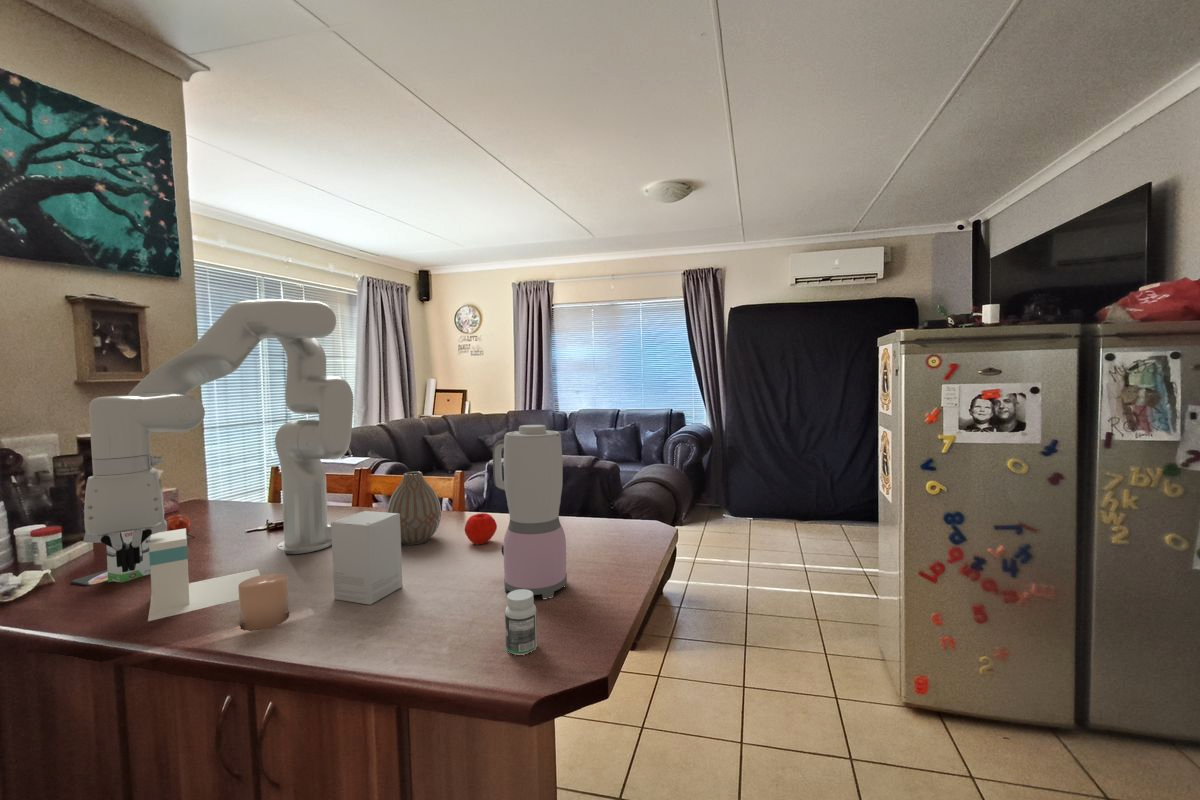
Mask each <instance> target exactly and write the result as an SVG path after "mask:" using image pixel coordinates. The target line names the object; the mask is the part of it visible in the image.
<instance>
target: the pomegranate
mask: <svg viewBox="0 0 1200 800" xmlns="http://www.w3.org/2000/svg"><path fill="white" fill-rule="evenodd" d="M164 520H165V521H167V531H172V530H178V529H185V528H186V535H187V537H190V538H194V539H195V538H196V537H195V536H194V535H191V534H189V533H190V531H191V528H192V522H191V519H190V518H189V517H188V516H187V515H185V514H173V515H170V516H168V517H167V518H164Z"/></svg>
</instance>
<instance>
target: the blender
mask: <svg viewBox="0 0 1200 800" xmlns="http://www.w3.org/2000/svg"><path fill="white" fill-rule="evenodd" d="M503 438H504V439H500V440H498V441H496V442H495V444H494V445H493V448H492V469H493V470H492V471H493V483H494V485H495V487H496V488H497V489H499V490H502V491H504V492H505V497H506V502H507V503H506V505H507V508H508V514H509V524H508V525H507V529H506V532H505V533H504V537H503V545H502V546H501V555H502V556H503V569H504V570H503V571H504V572H503V574H504V578H503V580H504V581H503V582H504V585H503V586H504V592H505V591H507V592H512V591H514V590H519V589H526V590H530V591H532V592H533V596H536V595H541V598H549V597H552V596H553V597H554V594H555V592H556V591H558V590H560V589H562V588H563V587H564V586H565V587H566V588H567V583H568V582H567V581H568V577H567V575H568V574H567V541H566V540H567V539H566V534H565V531H564V529H563V526H562V524H561V522H560V518H559V517H560V516H559V515H560V514H559V513H560V506H561V500H562V499H561V498H562V491H563V483H564V482H563V474H564V473H563V467H564V466H563V449H562V447H563V446H562V434H561V433H560V432H559V431H557V430H549V429H548V430H547V427H546V425H545V424H523V425H520V426H519V427H518V430H515V431H509V432H506V433H505V434H504V437H503ZM502 450H503V461H502ZM502 462H503V465H502ZM502 467H503V469H502Z"/></svg>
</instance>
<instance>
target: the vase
mask: <svg viewBox="0 0 1200 800" xmlns="http://www.w3.org/2000/svg"><path fill="white" fill-rule="evenodd" d="M441 509H442V508H441V503H440V499H439V497H438V495H437V492H435V489H433V487H432V486H431V485H430V484H429V483H428V482H427V481H426V479H425V477H424V476H423V472H422V471H409V472H405V473H403V477H402V479H401V482H400V483H399V485H398V486H397V487H396V488H395V490H394V491H393V493H392V494H391V496H390V498H389V500H388V503H387V507H386V513H398V514H400V530H401V545H407V546H412V545H419V544H423V543H426V542H428V541H429V540H430V539H431V538H432V537H433V536H434V534H435V533H436V532H437V530H438V528H439V525H440V523H441V517H442V510H441Z"/></svg>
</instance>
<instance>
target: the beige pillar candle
mask: <svg viewBox="0 0 1200 800" xmlns="http://www.w3.org/2000/svg"><path fill="white" fill-rule="evenodd" d="M238 589H239V600H238V603H239V604H238V605H239V621H240V623H242V624H240V627H241V628H240V629H241V630H242V629H243V630H242V631H245V630H249V631H248V632H253V631H252V630H258V631H263V630H267V628H268V629H270V627H271V628H274V627H277V626H279V625H281V624H282V623H284V622H285V621H287V620H288V619H289V617H290V612H289V610H290V609H289V607H290V606H289V589H288V575H287V574H285V573H279V572H278V573H277V572H276V573H275V572H273V573H265V574H260V576H256V577H252V578H250V579H247V580H245V581H243V582H241V583H240V584H239V586H238ZM278 624H279V625H278ZM273 626H274V627H273ZM262 629H263V630H262Z"/></svg>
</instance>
